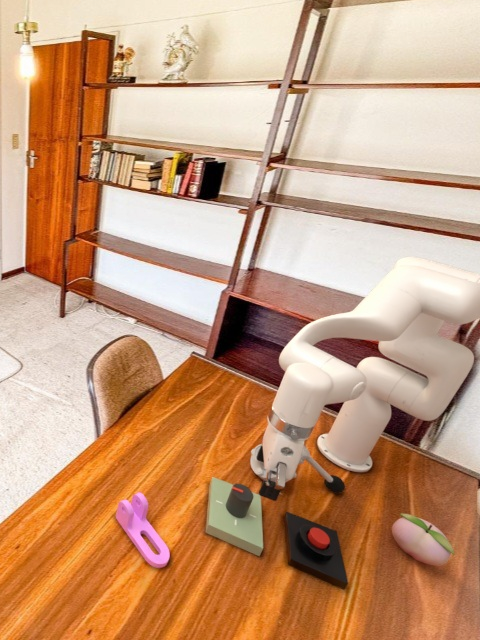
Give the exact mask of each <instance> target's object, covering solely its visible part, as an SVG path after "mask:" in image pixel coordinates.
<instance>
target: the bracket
mask: <svg viewBox="0 0 480 640" xmlns="http://www.w3.org/2000/svg"><path fill="white" fill-rule="evenodd" d="M148 510H149V502H148V499H147V498H146V496H145V495H144V494H143V493H142V492H141V491H140V492H136V493H135V494H133V495H132V498H131V502H130V501H129V500H128V499H126V498H125V499H123V500H120V501H119V502H118V504H117V508H116V514H115V519H116V521H117V522H118V524H119V525H120V526H121V528H122V529H123V530H124V532H125V533H126V535H127V537H128V538H129V540H131V542H132V543H133V545H134V546H135V548H136V549H137V550H138V552H139V553H140V554H141V556H142V557H143V559H144V560H145V562H146V563H147V564H148V565H149V566H151V567H153V568H156V569H163V568H165V567H166V566H167V565H168V563H169V560H170V557H171V556H170V555H171V554H170V549H169V546H168V545H167V544H166V543H165V541H164V540H163V539H162V537H161V536H160V535H159V534H158V532H157V531H156V530H155V529H154V527H153V526H152V524H151V523H150V522H149V521H148V519H147V515H148ZM142 535H144V536H146V538H147V539H148V540H149V542H150V543H151V544H152V546H153V547H154V548H155V550H156V551H157V552H158V554H156V553H154V551H153V550H152V549H151V547H150V546H149V544H148V543H147V542H146V540H145V539H144V538H143V536H142Z"/></svg>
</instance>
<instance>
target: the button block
mask: <svg viewBox="0 0 480 640" xmlns="http://www.w3.org/2000/svg"><path fill="white" fill-rule="evenodd" d="M283 527H284V537H285V547H286V558H287V566H290V567H292V568H294V569H297V570H299V571H301V572H303V573H306V574H308V575H310V576H313V577H314V578H318V580H321V581H324V582H325V583H328V584H331V585H333V586H335V587H337V588H339V589H342V590H345V589H346V587H347V586H348V585H349V581H348V575H347V572H346V568H345V562H344V559H343V554H342V549H341V545H340V540H339V535H338V531H337V530H335V529H332V528H330V527H328V526H325V525H322V524H319V523H318V522H315V521H312V520H309V519H307V518H304V517H302V516H299V515H297V514H295V513H292V512H289V511H285V513H284V515H283ZM311 528H319V529H321V530H322V531H324V532H325V533H326V534H327V535H328V537H329V539H330V543H329V544H328V546H327V548H325V549H320V548H317V547H316V546H314V545H313V544H312V543H311V542H310V541H309V539H308V533H309V531H310V529H311Z"/></svg>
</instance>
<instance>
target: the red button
mask: <svg viewBox="0 0 480 640" xmlns="http://www.w3.org/2000/svg"><path fill="white" fill-rule="evenodd" d="M308 539H309V541H310V542H311V543H312V544H313V545H314V546H316V547H317V548H320V549H325V548H327V546H328V544H329V543H330V539H329V537H328V535H327V534H326V533H325V532H324V531H322V530H321V529H319V528H311V529H310V531H309V533H308Z"/></svg>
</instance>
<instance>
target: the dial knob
mask: <svg viewBox="0 0 480 640" xmlns="http://www.w3.org/2000/svg"><path fill="white" fill-rule="evenodd" d="M252 492H253V491H252V490H251V489H250V488H249V487H248V486H247V485H245V484H241V483H235V484H233V487H232V489H231V492H230V494H229V497H228V500H227V502H226V509H227V510H228V512H229V513H230V514H231V515H233V516H234V517H237V518H244V517H245V516H246V514H247V512H248V509H249V507H250V505H251V503H252V500H253V497H254V496H253V493H254V492H253V493H252Z"/></svg>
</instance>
